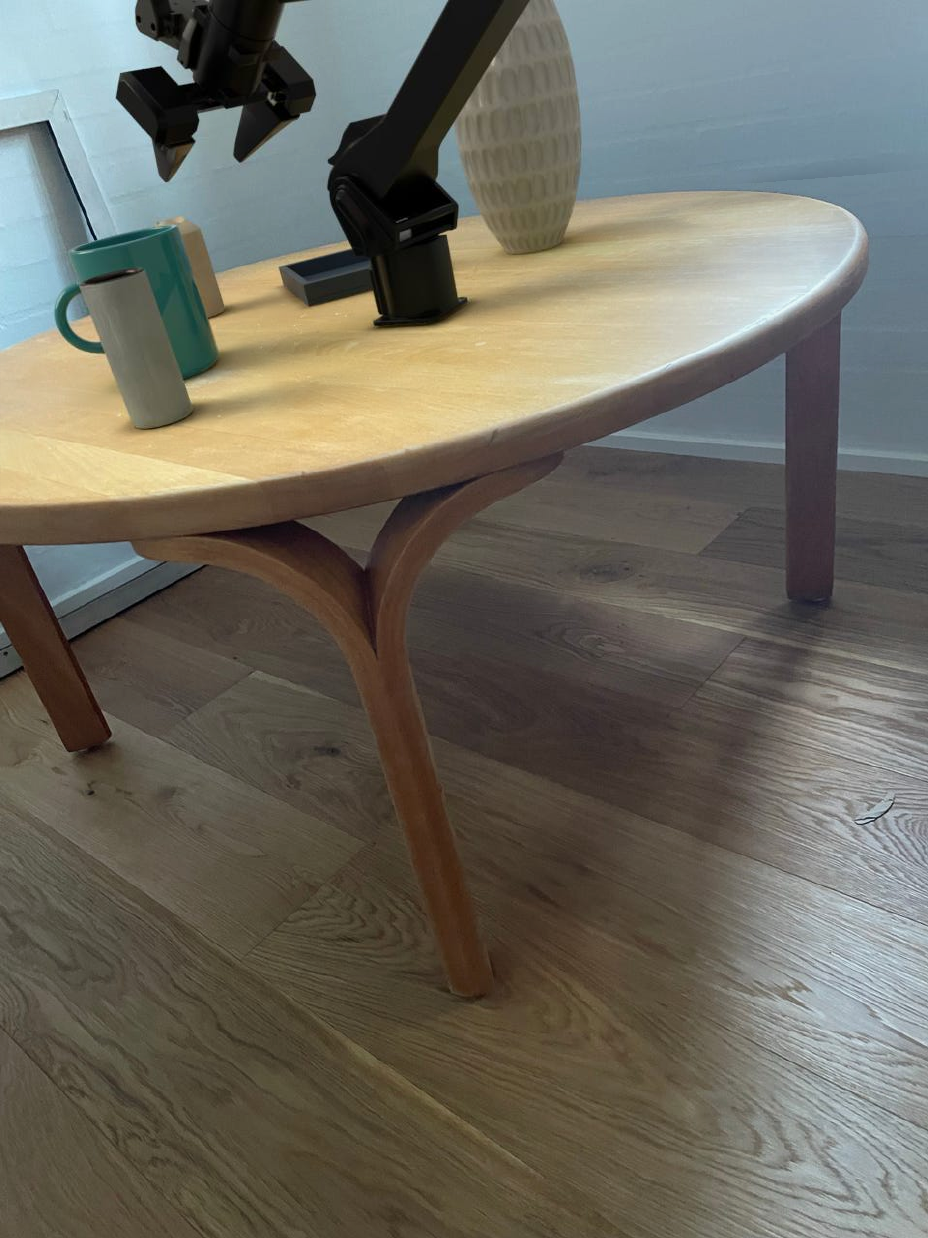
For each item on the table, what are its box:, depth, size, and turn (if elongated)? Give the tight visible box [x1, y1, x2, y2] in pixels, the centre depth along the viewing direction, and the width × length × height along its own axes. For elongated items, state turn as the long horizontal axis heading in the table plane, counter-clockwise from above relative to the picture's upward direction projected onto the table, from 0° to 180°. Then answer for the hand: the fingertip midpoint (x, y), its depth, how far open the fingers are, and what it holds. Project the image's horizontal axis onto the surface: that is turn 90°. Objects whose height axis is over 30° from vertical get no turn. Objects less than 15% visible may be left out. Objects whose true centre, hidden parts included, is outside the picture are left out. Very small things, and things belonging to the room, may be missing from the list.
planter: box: [79, 267, 194, 430], centre depth 66 cm, size 4×4×10 cm
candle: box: [154, 215, 226, 319], centre depth 98 cm, size 6×6×10 cm
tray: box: [278, 247, 373, 308], centre depth 101 cm, size 16×15×2 cm
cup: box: [53, 225, 220, 380], centre depth 77 cm, size 9×12×11 cm
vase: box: [453, 0, 582, 255], centre depth 92 cm, size 13×13×28 cm
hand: (201, 168), depth 88 cm, fingers open, 9 cm apart
